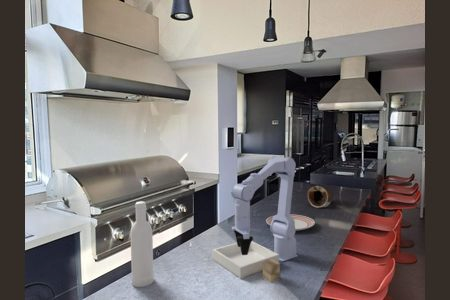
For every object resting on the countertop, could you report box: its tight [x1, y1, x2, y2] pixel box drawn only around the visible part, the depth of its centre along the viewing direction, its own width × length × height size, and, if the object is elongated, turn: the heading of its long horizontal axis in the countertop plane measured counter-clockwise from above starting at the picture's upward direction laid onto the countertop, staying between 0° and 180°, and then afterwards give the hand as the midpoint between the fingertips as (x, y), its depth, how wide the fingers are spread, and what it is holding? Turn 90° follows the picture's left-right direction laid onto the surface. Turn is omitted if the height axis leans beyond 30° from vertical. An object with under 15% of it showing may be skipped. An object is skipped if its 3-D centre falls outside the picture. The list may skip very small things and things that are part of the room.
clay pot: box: [307, 185, 334, 209], centre depth 219 cm, size 15×15×25 cm
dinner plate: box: [265, 213, 316, 232], centre depth 173 cm, size 27×27×3 cm
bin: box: [211, 240, 280, 280], centre depth 127 cm, size 20×20×4 cm
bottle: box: [129, 200, 155, 288], centre depth 110 cm, size 8×8×30 cm
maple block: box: [262, 259, 281, 283], centre depth 114 cm, size 4×4×6 cm
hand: (242, 250), depth 115 cm, fingers open, 7 cm apart
